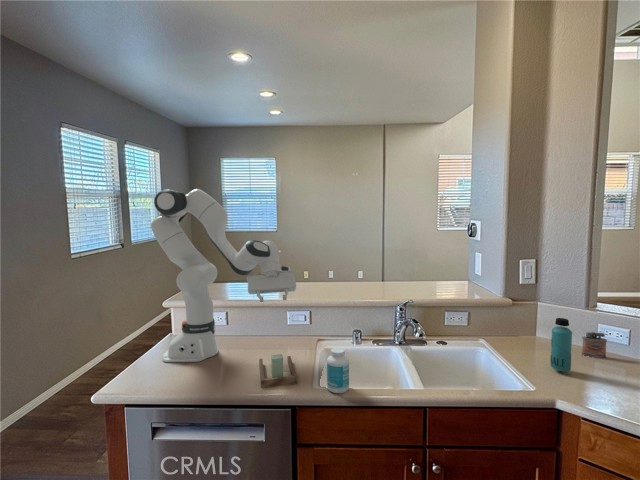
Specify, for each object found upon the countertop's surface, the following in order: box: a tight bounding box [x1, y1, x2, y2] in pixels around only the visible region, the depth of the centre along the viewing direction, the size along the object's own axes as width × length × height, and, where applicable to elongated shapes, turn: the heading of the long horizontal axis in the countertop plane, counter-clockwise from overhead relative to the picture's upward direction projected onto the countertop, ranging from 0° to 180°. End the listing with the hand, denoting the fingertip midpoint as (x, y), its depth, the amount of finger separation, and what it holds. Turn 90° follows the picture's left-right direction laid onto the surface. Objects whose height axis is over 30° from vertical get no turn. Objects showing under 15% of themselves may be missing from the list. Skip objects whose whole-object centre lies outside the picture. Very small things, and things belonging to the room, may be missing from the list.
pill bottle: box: [326, 347, 350, 394], centre depth 121 cm, size 8×7×14 cm
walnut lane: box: [258, 355, 298, 388], centre depth 134 cm, size 12×19×2 cm, turn 11°
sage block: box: [270, 353, 285, 378], centre depth 130 cm, size 4×4×8 cm
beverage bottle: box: [549, 317, 573, 372], centre depth 131 cm, size 6×7×20 cm
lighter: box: [581, 331, 608, 359], centre depth 145 cm, size 8×3×10 cm, turn 68°
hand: (273, 300), depth 146 cm, fingers open, 8 cm apart
